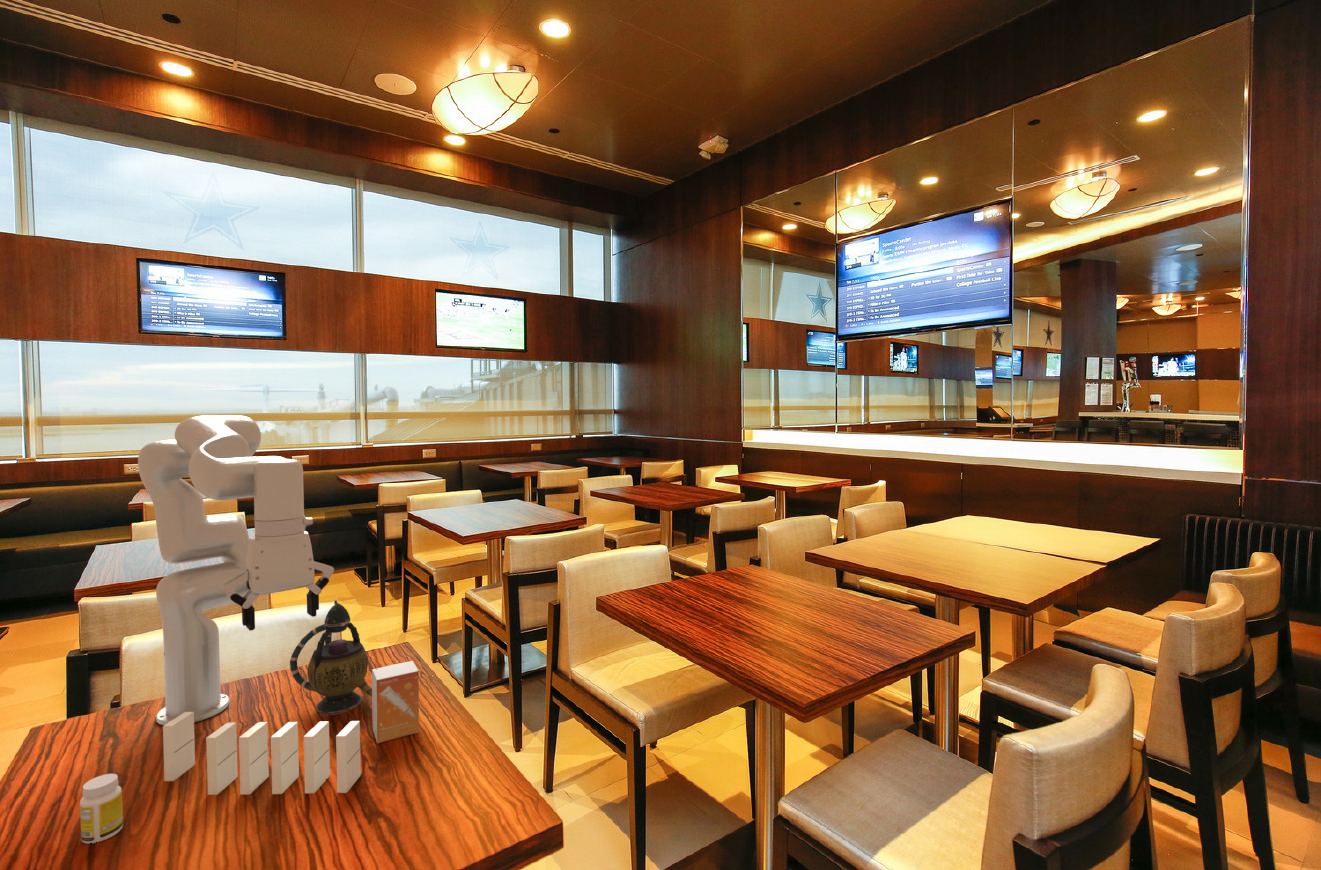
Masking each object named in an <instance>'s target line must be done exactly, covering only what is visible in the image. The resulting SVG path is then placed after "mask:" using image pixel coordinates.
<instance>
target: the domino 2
mask: <svg viewBox="0 0 1321 870" xmlns="http://www.w3.org/2000/svg"><path fill="white" fill-rule="evenodd" d="M237 732H238V731H237V722H236V721H235V722H226V723H224V724H222V726H220V727H219V728H217V730H215V731H214V732H212V733H211V734H209V735H208V736H206V738H205V739H206V769H207V771H206V772H207V777H206V778H207V795H208V796H212V795H213V796H218V795H219V794H220V793H221V792H222V791H223V790H225V789H226V788H227V787H228V786H229V785H230V784H231V783H232V782H234V781H235V780H236V779H237V778H238V776H239V775H238V771H239V770H238V740H237V738H238V737H237Z"/></svg>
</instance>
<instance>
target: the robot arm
mask: <svg viewBox="0 0 1321 870" xmlns="http://www.w3.org/2000/svg"><path fill="white" fill-rule="evenodd" d="M261 440H262V432H261V429H260V427H259V425H258V423H257V422H256V421H255V420H254V419H252V418H251V417H248V416H245V415H197V416H191V417H188V418H186V419H184V420H183V421H181V422H180V423H179V424H178V425H177V426H176V428H175V431H174V438H173V439H164V440H157V441H153V442H150V443H147V444H146V445H144V446H143V447H141V449H140V451H139V452H138V453H139V454H138V457H137V469H138V473H139V477H140V480H141V482H142V484H143V487H144V488H145V490H146V492H147V494H148V495H149V497H150V500H151V502H152V504H153V508H154V517H155V526H156V533H157V540H158V546H159V552H160V555H161V557H162V559H163V560H164V562H165V563H168V564H174V565H178V564H179V565H180V564H188V563H193V562H200V561H205V560H212V559H217V558H219V559H221V560H222V561H223V562H220V563H215V564H209V565H202V566H197V567H190V568H187V569H181V570H177V571H175V572H172V573H169V574H167V575H165V576H164V577H163V578H161V580H159V581H158V583H157V585H156V588H155V589H156V590H155V595H156V596H155V597H156V603H157V605H158V609H159V613H160V619H161V627H162V636H163V637H162V639H163V642H162V643H163V666H164V667H163V668H164V669H163V670H164V694H165V695H164V696H165V699H164V700H165V706H164V707H162V709H161V710H159V711H158V712H157V713H156V717H155V719H156V723H158V725H161V726H164V725H165V724H167V723H169V722H170V721H172V720H173V719H175V718H176V717H178V716H180V715H181V714H183V713H184V712H194V723H197V722H198V723H199V722H200V721H204V720H207V719H209V718H212V717H214V716H216V715H219V714H220V713H221V712H223V711H224V710H226V709H227V707H229V705H230V697H229V696H228V695H227V694H225V693H221V667H220V665H221V663H220V661H221V660H220V633H219V632H220V631H219V627H218V624H217V623H216V622H215V621H214V620H213V619H212V618H210V617H209V616H207V615H206V614H205V612H206V611H208V610H211V609H214V608H219V607H223V606H228V605H232V604H236V605H238V606H240V607H241V622H242V623H241V624H242V626H243V627H246V629H247V630H249V631H254V630H256V619H255V616H256V614H255V613H256V610H255V607H254V606H253V604H254V603H255V602H256V600H257V599H258V598H259V596H263V595H270V594H275V593H280V592H286V591H291V590H296V589H301V588H302V589H303V588H306V589H308V592H307V593H306V613H307V614H308V616H310V617H313V618H315V617H317V611H319V609H320V594H321V593H322V591H323V589H324V588H326V586H327V585H328V584H329V582H330V579H331V577H332V576H333V573H334V572H335V568H334V566H331V565H328V564H326V563H321V562H318V561H315V560H314V553H313V549H312V547H313V546H312V543H311V538H310V534H309V532H308V531H306V528H307V527H309V526H312V525H313V524H314V520H313V518H312V517H306V516H305V509H304V508H305V503H304V502H305V501H304V500H305V498H304V497H305V496H304V493H305V492H304V469H303V468H304V467H303V463H302V462H301V461H299V460H297V459H295V458H292V459H291V458H285V457H283V456H278V455H266V456H253V455H255V453H256V452H257V450H258V449H259V448H260V447H259V446H260V444H261ZM183 478H189V479H190V482H191V483H189V482H187V481H186V480H184V479H183ZM201 494H202V495H203V496H204V497H206V498H208V499H211V500H213V501H214V500H215V501H230V500H231V501H233V500H240V499H249V498H253V506H254V508H253V509H254V510H253V511H254V513H253V515H254V536H251V537H250V536H249V531H248V529H247V525H246V524H245V522H244V520H243V519H242V518H240V517H239V516H237V515H235V514H234V515H233V514H223V515H222V514H221V515H214V516H207V515H206V512H205V505H204V499H203V496H202V495H201ZM315 570H316V571H320V572H322V574H321V577H319V578H318V580H316V582H314V581H315V572H316V571H315Z"/></svg>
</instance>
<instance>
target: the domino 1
mask: <svg viewBox="0 0 1321 870" xmlns="http://www.w3.org/2000/svg"><path fill="white" fill-rule="evenodd" d="M162 732H163V733H162V739H163V740H162V742H163V743H162V744H163V774H164V775H163V776H164V777H163V778H164V781H163V782H174V781H176V780H177V779H178V778H181V776H182V775H183V774H186V772H188V771H189V770H190V769H191V768H193V767H194V766H195V765H196V748H195V746H196V744H195V743H196V742H195V741H196V740H195V722H194V712H184V713H183V714H181V715H180V716H178V717H176V718H175V719H173V720H172V721H170V722H169V723H167V724H165V725H162Z"/></svg>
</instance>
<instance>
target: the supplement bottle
mask: <svg viewBox="0 0 1321 870" xmlns="http://www.w3.org/2000/svg"><path fill="white" fill-rule="evenodd" d="M122 792H123V791H122V787H121V786H120V785H119V776H118V775H117V774H116V773H106V774H105V773H104V774H102V775H99V776H96V777H93V778H92V779H90V780H88V781H86V782H85V783H84V784H83V786H82V798H81V799H80V800H79V816H80V819H79V821H80V837H81V838H80V840H81V842H82V843H83V844H89V845H90V843H92V844H96V842H97V843H100V842H102V841H103V842H104V841H106V840H109V839H110V838H112V837H114V836H116V834H118V833H119V832H120V831H121V830H122V829H123V826H124V815H123V813H124V811H123V810H124V807H123V793H122Z"/></svg>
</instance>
